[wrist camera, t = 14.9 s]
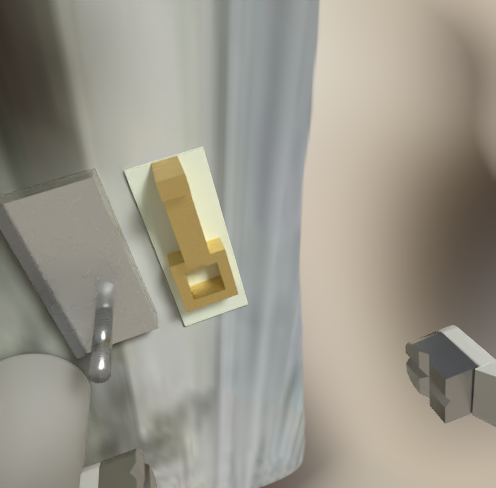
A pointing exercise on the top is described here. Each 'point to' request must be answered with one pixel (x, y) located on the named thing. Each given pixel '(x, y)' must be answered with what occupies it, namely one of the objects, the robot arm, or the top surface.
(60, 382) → the cylinder vase
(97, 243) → the toggle switch block
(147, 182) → the sage mat
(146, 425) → the top surface
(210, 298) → the brass hook
